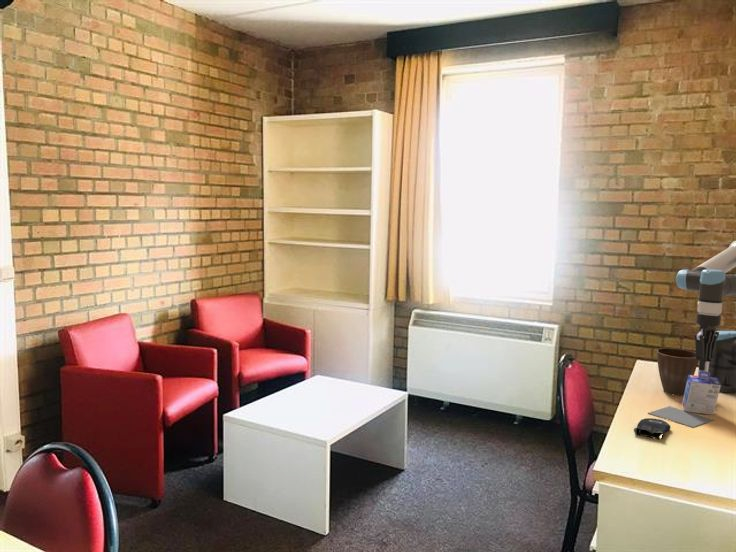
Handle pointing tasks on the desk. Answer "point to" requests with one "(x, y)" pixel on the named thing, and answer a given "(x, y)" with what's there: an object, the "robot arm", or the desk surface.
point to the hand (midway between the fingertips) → (702, 378)
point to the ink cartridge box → (701, 393)
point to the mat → (681, 416)
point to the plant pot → (675, 369)
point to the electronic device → (652, 426)
